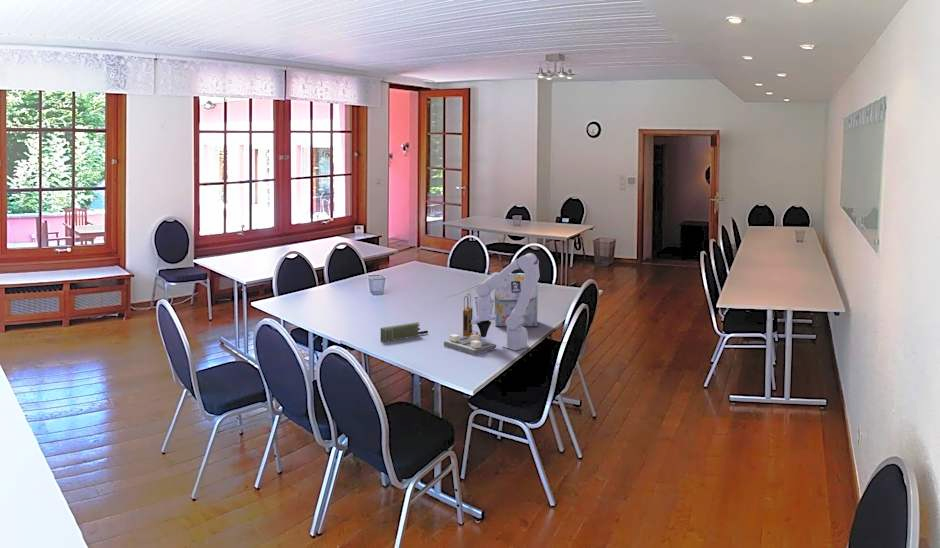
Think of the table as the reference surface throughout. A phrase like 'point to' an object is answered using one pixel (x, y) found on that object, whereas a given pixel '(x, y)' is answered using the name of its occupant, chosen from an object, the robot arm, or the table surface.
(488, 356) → the table surface
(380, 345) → the table surface
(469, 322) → the multimeter
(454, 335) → the lever
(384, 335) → the handheld radio
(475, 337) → the lever
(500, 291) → the lunch bag
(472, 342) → the lever
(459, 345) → the breaker panel
